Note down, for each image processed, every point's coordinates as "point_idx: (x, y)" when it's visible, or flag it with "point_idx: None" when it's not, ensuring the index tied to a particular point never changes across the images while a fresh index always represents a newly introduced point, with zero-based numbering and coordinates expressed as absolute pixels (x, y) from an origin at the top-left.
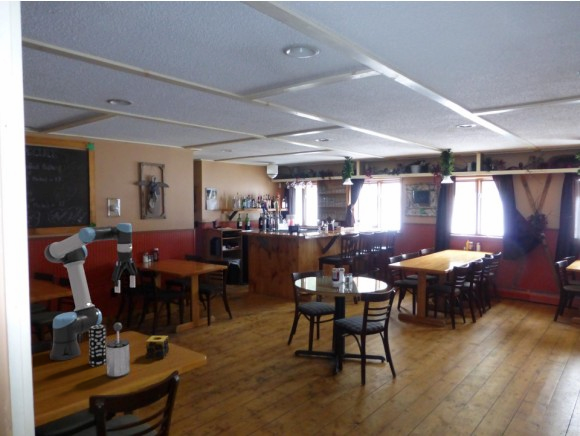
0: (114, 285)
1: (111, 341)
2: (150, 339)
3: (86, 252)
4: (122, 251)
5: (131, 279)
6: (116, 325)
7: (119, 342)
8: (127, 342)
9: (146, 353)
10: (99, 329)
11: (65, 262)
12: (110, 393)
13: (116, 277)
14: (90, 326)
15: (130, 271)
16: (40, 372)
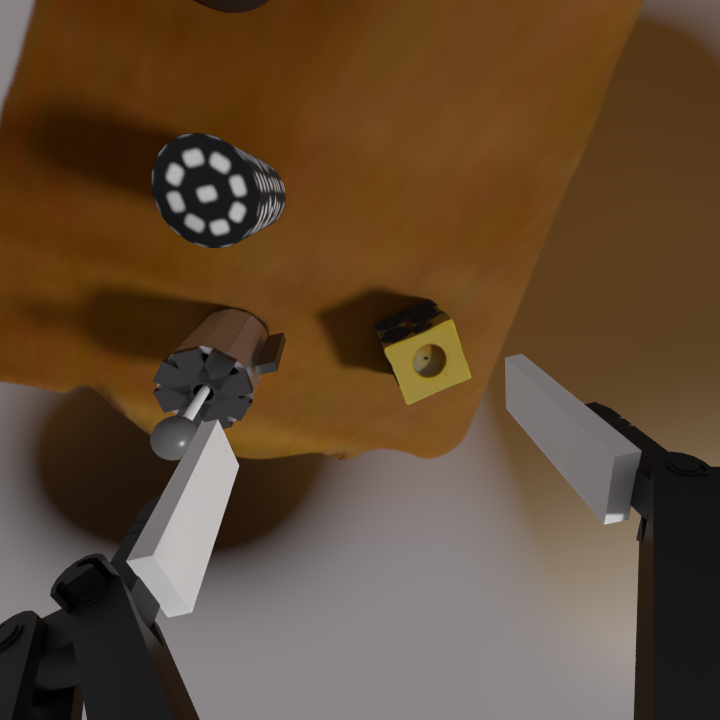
0: (139, 514)
1: (194, 357)
2: (408, 348)
3: None
4: None
5: (565, 437)
6: (155, 452)
7: (214, 389)
8: (234, 416)
9: (376, 333)
10: (193, 242)
11: None
12: (140, 419)
13: (57, 716)
14: (181, 139)
15: (646, 591)
16: (33, 21)
